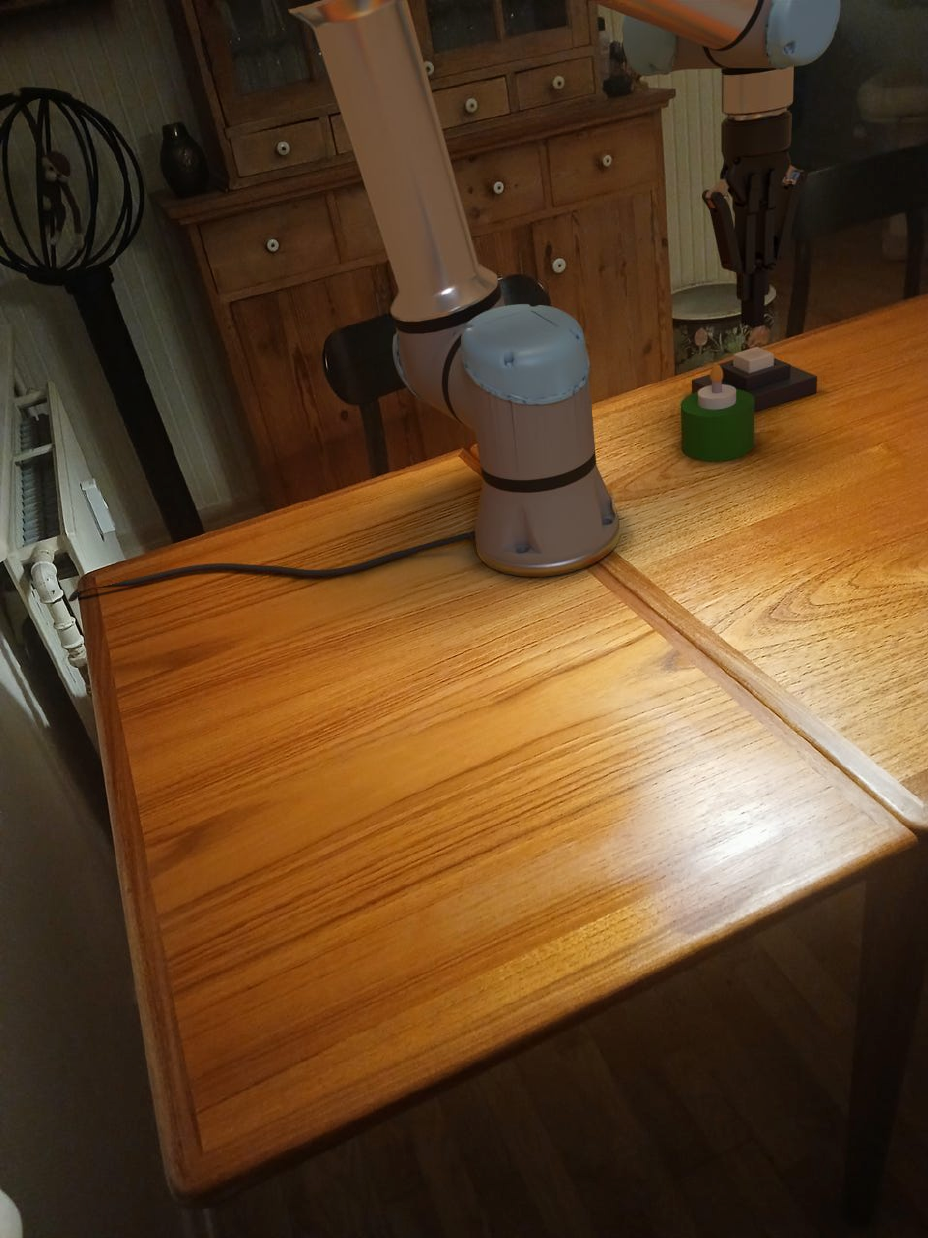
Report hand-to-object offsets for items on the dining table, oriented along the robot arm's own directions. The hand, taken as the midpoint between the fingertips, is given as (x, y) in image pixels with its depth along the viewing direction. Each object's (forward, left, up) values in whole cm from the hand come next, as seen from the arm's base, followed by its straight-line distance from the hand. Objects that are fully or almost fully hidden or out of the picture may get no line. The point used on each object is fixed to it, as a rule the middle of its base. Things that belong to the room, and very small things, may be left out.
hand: (752, 323), depth 118 cm
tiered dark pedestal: (0, 0, -9) cm, 9 cm away
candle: (-12, -10, -10) cm, 18 cm away
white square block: (0, 0, -6) cm, 6 cm away
